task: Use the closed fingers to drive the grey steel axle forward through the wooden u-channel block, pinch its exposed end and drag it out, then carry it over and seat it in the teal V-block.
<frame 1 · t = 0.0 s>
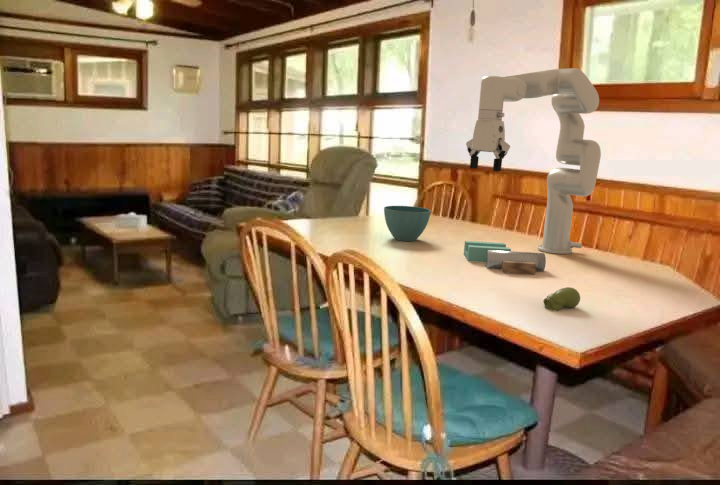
hand: (485, 169, 192), 31 cm above the table, tool pointing down, fingers open, 9 cm apart
pear: (560, 308, 152), on the table
steel axle: (515, 260, 192), point 3 cm above the table
teal bowl: (405, 239, 233), on the table
teal V-block: (485, 258, 205), on the table
wooden u-channel block: (514, 269, 192), on the table
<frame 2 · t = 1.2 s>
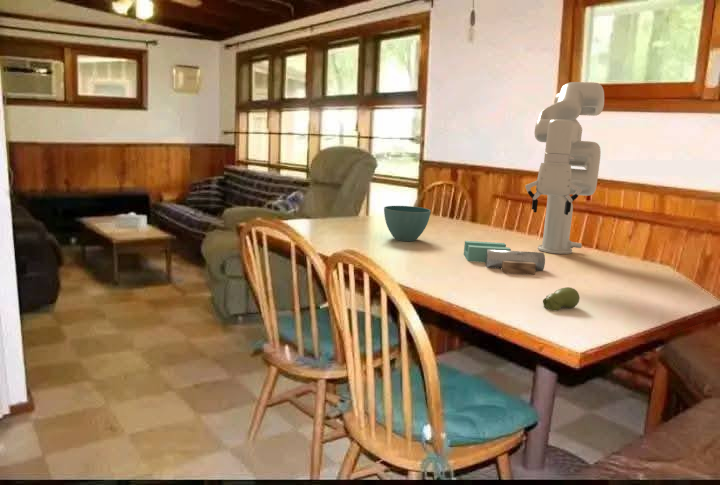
hand: (550, 213, 189), 19 cm above the table, tool pointing down, fingers open, 9 cm apart
steel axle: (514, 260, 192), point 3 cm above the table, tilted 18°
everything else where it was.
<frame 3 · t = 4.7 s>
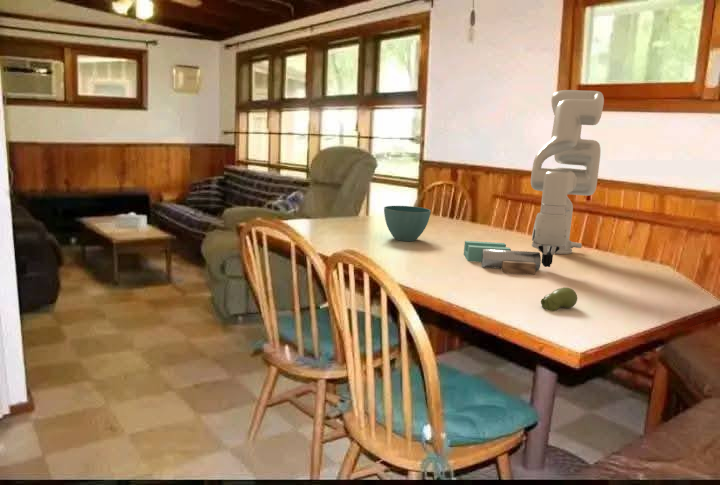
hand: (546, 265, 191), 2 cm above the table, tool pointing down, fingers closed
steel axle: (510, 259, 192), point 3 cm above the table, tilted 7°, touching gripper
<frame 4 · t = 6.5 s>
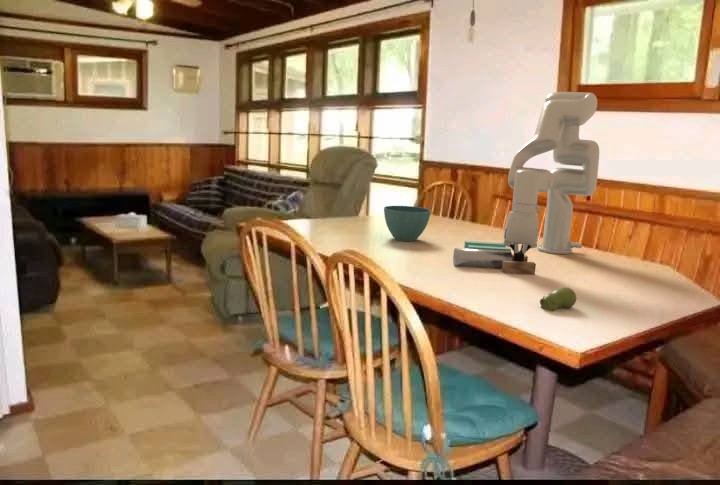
hand: (517, 264, 192), 2 cm above the table, tool pointing down, fingers closed
steel axle: (482, 258, 192), point 3 cm above the table, tilted 5°
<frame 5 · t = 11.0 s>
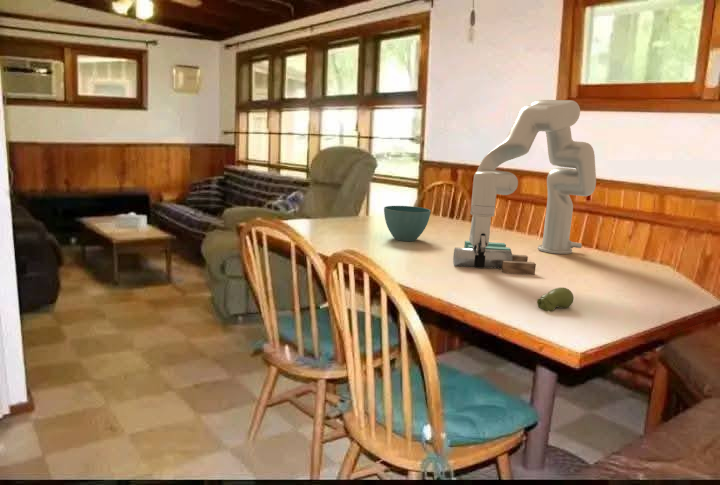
hand: (477, 264, 192), 1 cm above the table, tool pointing down, fingers closed on steel axle, 6 cm apart
steel axle: (482, 258, 192), point 3 cm above the table, touching gripper
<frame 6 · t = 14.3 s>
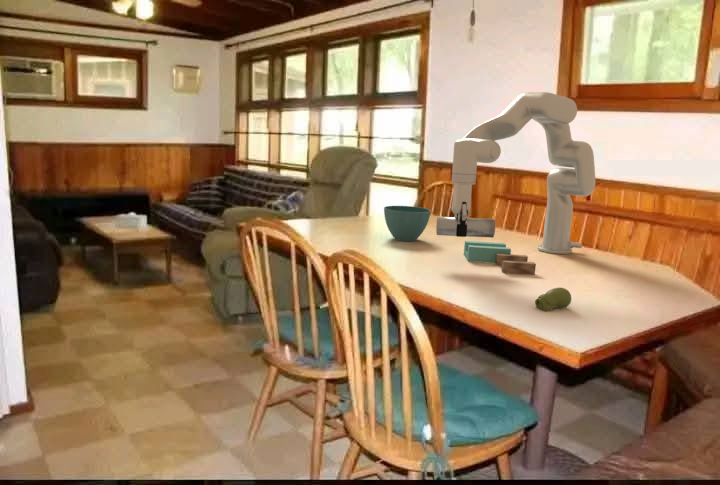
hand: (459, 233, 191), 10 cm above the table, tool pointing down, fingers closed on steel axle, 6 cm apart
steel axle: (465, 227, 190), point 13 cm above the table, touching gripper
when the fingers open (6 cm above the table, at t = 17.9 s): steel axle drops 2 cm, resting on teal V-block.
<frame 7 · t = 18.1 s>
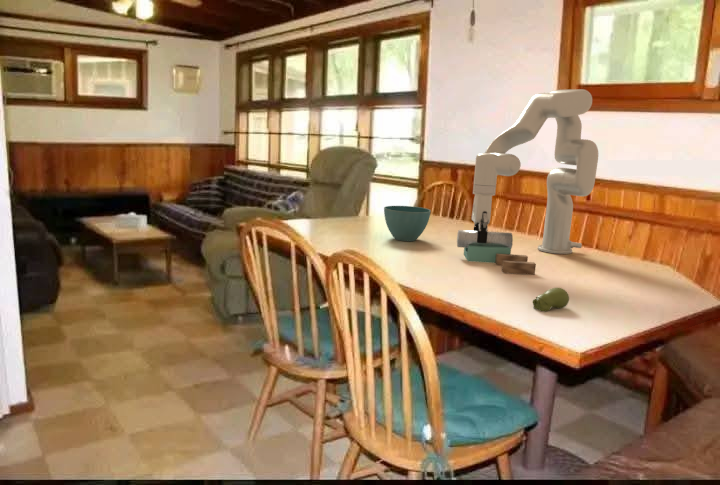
hand: (479, 240, 204), 7 cm above the table, tool pointing down, fingers open, 8 cm apart
steel axle: (484, 240, 204), point 7 cm above the table, tilted 6°, touching teal V-block
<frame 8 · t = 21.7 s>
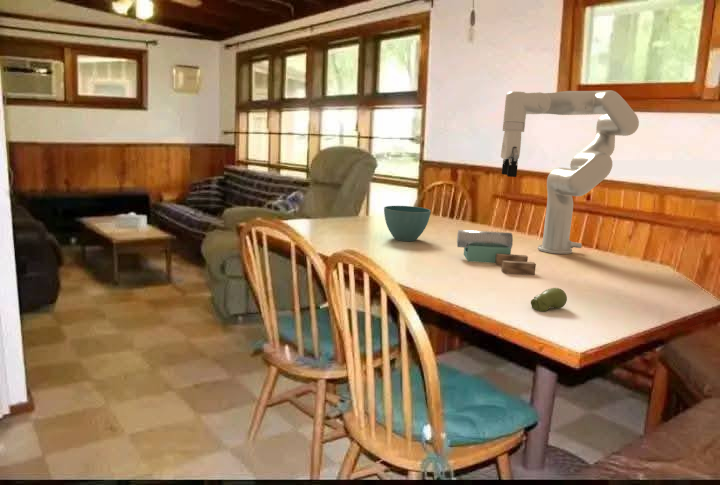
hand: (508, 175, 213), 28 cm above the table, tool pointing down, fingers open, 9 cm apart
at the end: steel axle inside the target area on the teal V-block (1.1 cm from its centre), point 6.7 cm above the teal V-block's base; steel axle touching teal V-block; the gripper is holding nothing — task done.
